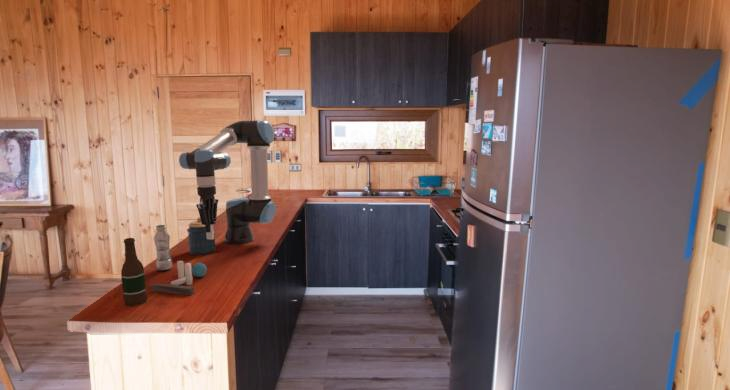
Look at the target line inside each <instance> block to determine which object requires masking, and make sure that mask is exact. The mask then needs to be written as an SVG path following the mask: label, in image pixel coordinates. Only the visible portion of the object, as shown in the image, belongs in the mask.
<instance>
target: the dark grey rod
mask: <svg viewBox="0 0 730 390" xmlns="http://www.w3.org/2000/svg"><path fill="white" fill-rule="evenodd" d="M150 292H153V293H163V294H164V293H166V294H176V295H184V296H192V295H194V294H195V287H194V286H189V285H178V286H177V285H171V284H165V283H154V282H153V283H151V284H150Z"/></svg>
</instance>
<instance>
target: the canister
mask: <svg viewBox="0 0 730 390" xmlns="http://www.w3.org/2000/svg"><path fill="white" fill-rule="evenodd" d="M196 219H197V220H194V221H191V222H190V223H188V225H187V226H188V228H187V229H186V231H187V234H188V235H187V243H188V252H189V254H191V255H195V256H196V255H207V254H211V253H213V252H215V251H216V248H217V246H216V235H215V234H216V233H215V232H214V239H212V240H211V239H207V235H206V226H205V225H202V223H201V219H200V216H199V217H197V218H196ZM213 227H214V228H215V225H213Z"/></svg>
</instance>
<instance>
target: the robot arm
mask: <svg viewBox="0 0 730 390" xmlns="http://www.w3.org/2000/svg"><path fill="white" fill-rule="evenodd" d="M273 128H274V127H273V126H272V124H271V123H270V122H269V121H267V120H261V119H260V120H239V121H237V122H234V123H231V124H229V125H228V126H226V127H223V128H222V129H221V131H220V132H219V134H217V135H216V136H214V137H212V138H211V139H209V140H208V141H206V142H205V143H203V144H202V145H200V146H198V147H197V148H196V149H194V150H192V151H190V152H189V151H186V152H182V153H181V154H180V155H179V157H178V163H179V166H180V167H181V168H182V169H185V170H195V176H196V177H195V178H196V186H197V187H196V190H197V195H198V197H199V203H196V206H195V207H196V208H197V211H198V213H199V217H200V219H201V223H202V225H205V226H206V235H207V239H211V240H212V239H214V233H215V231H214V230H215V226H214V225H216V222H217V217H218V215H217V214H218V204H219V199H218V198H215V195H217V189H216V188H217V187H216V186H215V185H216V175H215V173H216V172H215V171H217V170H224V169H226V168H227V169H228V167H230V164H231V162H232V161H231V156H230V154H228V153H227V152H225V151H224V150H226V149H228V147H231V146H234V145H236V144H246V147H247V148H248V149H249V150H250V152H249V153H250V179H251V181H250V182H251V184H250V185H251V194H250V196H249V198H248V197H237V198H233V199H229V200H227V201H226V203H225V212H226V213H225V215H226V224H227V225H226V227H227V228H226V231H225V236H224V242H225V243H227V244H228V245H229V244H232V245H239V244H240V245H241V244H246V243H250V242H252V241H254V238H255V237H254V233H253V231H252V229H251V226H250V223H253V224H256V223H257V224H270V223H271V222H272V221H273V220H274V218H275V216H276V211H277V207H276V203H275V202H274V201H272V197H271V196H270V194H269V178H268V176H269V175H268V173H269V172H268V150H269V148H270V147H271V144H272V143H273V142H274V138H275V132H274V129H273ZM223 151H224V152H223ZM213 226H214V227H213Z"/></svg>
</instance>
